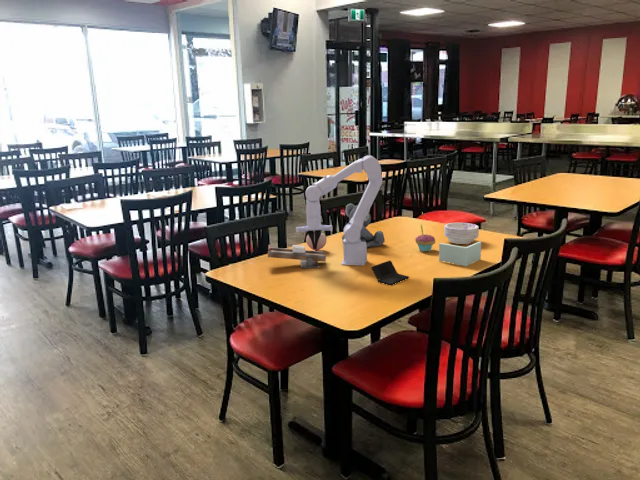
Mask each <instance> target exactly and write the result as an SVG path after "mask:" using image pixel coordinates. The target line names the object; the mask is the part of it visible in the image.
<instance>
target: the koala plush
mask: <svg viewBox="0 0 640 480" xmlns="http://www.w3.org/2000/svg"><path fill="white" fill-rule="evenodd" d="M358 205H359V204H357V205H355V204H353V203H348V204H347V205H345V215H346V216H347V217H348V218H349V219H348V221H350V220H351V218H352V217H353V215H354V213H355V211H356V209H357V207H358ZM370 211H371V210H369V212H368V214H367V216H366V218H365V220H364V222H363V226H362V229H361V232H360V239H361V241H362V242H366V245H367V248H370V247H371V248H372V247H373V248H374V247H379V246H382V245H384V243H385V235H384V232H383V231H382V230H377V231H376V232H374V234H373V233H372V232H370V231H369V230H368V229H367V227H368V226H369V225H370V223H371V220H372V218H371V217H372V216H371V214H370ZM344 239H345V235H344V234H343V235H342V236H341V240H342V241H341V242H343V240H344Z"/></svg>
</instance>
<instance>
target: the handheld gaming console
mask: <svg viewBox="0 0 640 480" xmlns="http://www.w3.org/2000/svg"><path fill="white" fill-rule="evenodd" d="M371 270H372V272H373V274H374V276H375V278H376V280H377V283H379V282H380V283H379V284H382V283H384V284H383V285H386V284H387V285H386V286H389V285H391V286H393V284H394V285H396V284H399V283H401V282H400V281H402V282H404V281H406V280H405V279H407V280H409V279H410V276H409V275H405V274H401V273H398V271H397V269H396V268H395V266H394V264H393V261H392V260H386V261H384V262H381V263H378V264H376V265H373V266H371ZM408 278H409V279H408ZM403 280H404V281H403ZM398 282H399V283H398ZM395 283H396V284H395Z"/></svg>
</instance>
